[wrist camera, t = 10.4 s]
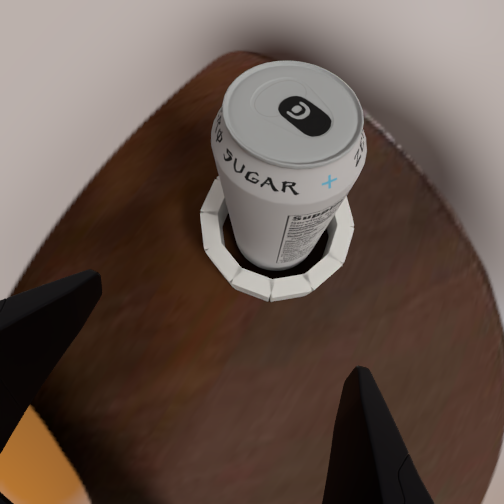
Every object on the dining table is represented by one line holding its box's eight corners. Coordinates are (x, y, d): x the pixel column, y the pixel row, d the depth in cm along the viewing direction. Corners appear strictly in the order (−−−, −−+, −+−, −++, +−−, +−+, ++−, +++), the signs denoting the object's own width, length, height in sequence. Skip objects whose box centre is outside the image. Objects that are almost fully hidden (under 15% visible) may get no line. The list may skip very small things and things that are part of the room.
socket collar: (217, 309, 23) (211, 307, 20) (201, 182, 25) (195, 164, 22) (354, 286, 23) (366, 280, 20) (324, 164, 26) (331, 146, 23)
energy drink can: (274, 184, 25) (288, 34, 11) (329, 235, 24) (409, 118, 10) (219, 233, 24) (169, 107, 10) (274, 289, 23) (299, 225, 9)
